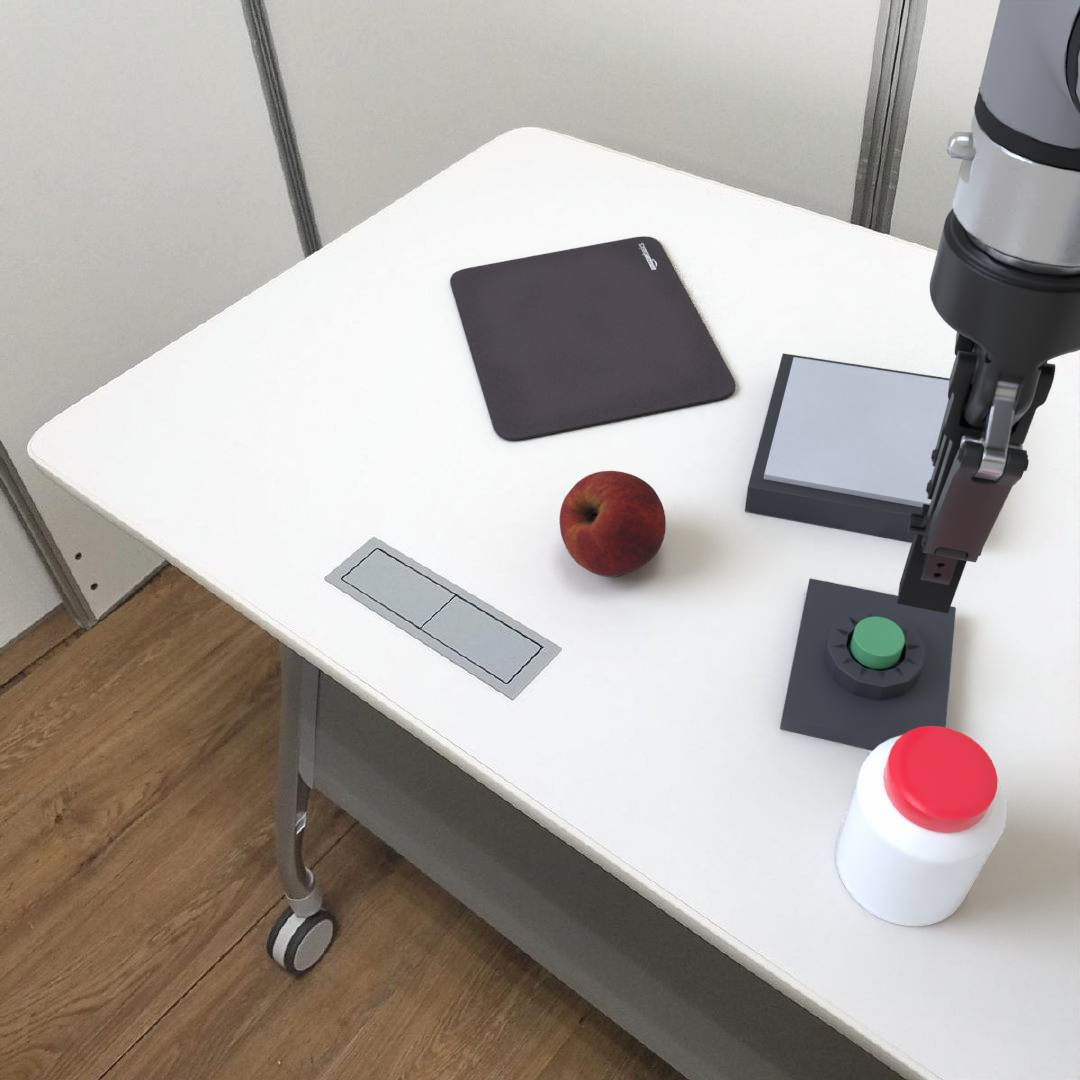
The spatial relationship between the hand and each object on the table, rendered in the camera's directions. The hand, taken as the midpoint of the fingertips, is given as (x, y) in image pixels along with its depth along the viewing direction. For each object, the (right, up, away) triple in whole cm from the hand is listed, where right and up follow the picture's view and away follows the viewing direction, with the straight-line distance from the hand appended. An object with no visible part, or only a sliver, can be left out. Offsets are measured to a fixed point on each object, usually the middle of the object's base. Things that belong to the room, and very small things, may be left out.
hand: (923, 598), depth 61 cm
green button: (+1, -4, +11) cm, 12 cm away
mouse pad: (-17, +22, +39) cm, 48 cm away
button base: (+1, -6, +13) cm, 15 cm away
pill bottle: (0, -16, +5) cm, 17 cm away
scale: (+4, +10, +27) cm, 29 cm away
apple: (-16, +2, +21) cm, 27 cm away
